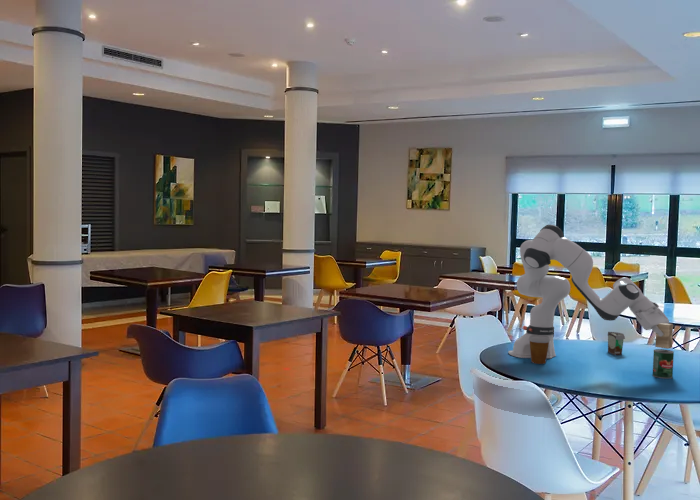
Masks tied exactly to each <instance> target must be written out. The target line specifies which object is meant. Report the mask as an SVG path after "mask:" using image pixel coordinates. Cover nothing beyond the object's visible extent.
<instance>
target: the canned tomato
mask: <svg viewBox="0 0 700 500" xmlns="http://www.w3.org/2000/svg"><path fill="white" fill-rule="evenodd" d="M674 352H675V351H673V350H670V349H665V348H657V349H653V358H652V361H653V362H652V377H654V378H659V379H668V380H669V379H673V375H674V355H675V354H674Z"/></svg>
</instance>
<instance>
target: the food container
mask: <svg viewBox="0 0 700 500" xmlns="http://www.w3.org/2000/svg"><path fill="white" fill-rule="evenodd" d="M624 340H626V336H625V334H624V333H622V332H617V331H607V352H608V353H609V354H611V355H614V356H621V355H622V354H623V346H624Z"/></svg>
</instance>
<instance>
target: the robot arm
mask: <svg viewBox="0 0 700 500" xmlns="http://www.w3.org/2000/svg"><path fill="white" fill-rule="evenodd" d="M519 255H520V256H519V257H520V260H521V263H522V266H523V270H524V274H522V275H520V276H519V277H518V279H517V281H516V289H517V291H518V293H519V294H520V295H523V296H526V297H532V298H542V301H541V303H539V304H536V305H535V306H533V307H532V308H531V309H530V313H529V314H530V315H529V317H530V318H529V325H528V326H526V325H523V326H522V330H524V331H526V332H525V333H524V334H523V335H522V336H520V337H519V338H517V339H516V340H515V341H514V343H513V347H512V350H508V354H509V355H510V356H511V357H516V358H519V359H521V358H522V359H531V351H530V341H529V337H530V336H531V335H542V336H548V337H549V340H550V341H549V345H548V351H547V357H546V359H552V358H554V357H556V356H557V355H556V351H555V345H554V343H555V342H554V336H555V326H554V320H555V312H556V308H557V307H558V305H559V304H560V302H561V301H562V300H564V299H565V298H567V297H568V296H569V294H570V292H571V284H570V281H569V280H568V278H565V277H561V276H559V275H550V274H549V273H548V272H550V271H549V270H550V265H551V262H552V260H554V261H557V262H558V263H559V264H561V266H563V267H564V268H565V269H566V270H568V272H569V273H570V275H571V282H572V284H573V285H574V287H575V288H576V289H577V290H578V292H579V293H580V294H581V295H582V296H583V298H585V299H586V301H587V302H588V303H589V304H590V305H591V306H592V308H594V310H595V311H596V313H597V314H598V315H599V317H600V318H601V319H602V320H604V321H616V319H618V318H619V316H620V315H621V314H622V313H623V312H625V310H626V309H629V310H630V311H631V313H633V315H634V316H635V318H636V320H637V322H638V323H639V324H640V326H641V327H642V329H644V330H645V331H650V330H652V332H654V333H655V334H656V333H657V334H658V335H659V336H660V337H661V336H663V335H664V333H663V331H661V330H660V329H659V328H658V327H657V325H658V324H660V323H668V324H670V320H669V318H668V317H667V316H666V314H665V313H664V312H663V310H661V308H660V306H659V305H658V303H656V302H653V301H652V300H650V298H648V297H647V296H646V295H644V294H643V292H642V290H641V289H640V288H639V286H638V285H636V283H634V282H633V281H632V280H631V279H630V278H628V277H627V276H626V277H621V278H619V279H617V280H616V281H615V282H614V283H613V285H612V290H611V291H610V292H609V293H608V294H607V295H605V296H604V297H603V298H602V297H600V296H599V295H598V293H596V292H595V290H594V289H593V288H592V287H591V286H590V285H589V278H590V276H591V273H592V270H593V267H594V260H593V256H592V255H591V254H590V253H589V252H588V251H587V250H585V249H584V248H582V247H581V246H580V245H579V244H577V243H576V242H574V241H572V240H571V239H569V238H567V237H565V235H564V233H563V230H562V229H561V228H559V226H556V225H555V224H545V226H543V227H542V228H541V229H540V231H539V232H538V233H537V234H536V235H535V236H534V237H533V239H527V240H525V241H524V242H522V243H521V245H520V246H519ZM548 274H549V275H548Z"/></svg>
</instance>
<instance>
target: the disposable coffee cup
mask: <svg viewBox="0 0 700 500" xmlns="http://www.w3.org/2000/svg"><path fill="white" fill-rule="evenodd" d="M529 341H530V351H531V358H530V360H531V363H533V364H535V365H537V364H538V365H543V364H545V365H546V362H547V358H546V357H547V351H548V345H549V341H550V340H549V337H548V336H542V335H531V336H530V337H529Z"/></svg>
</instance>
